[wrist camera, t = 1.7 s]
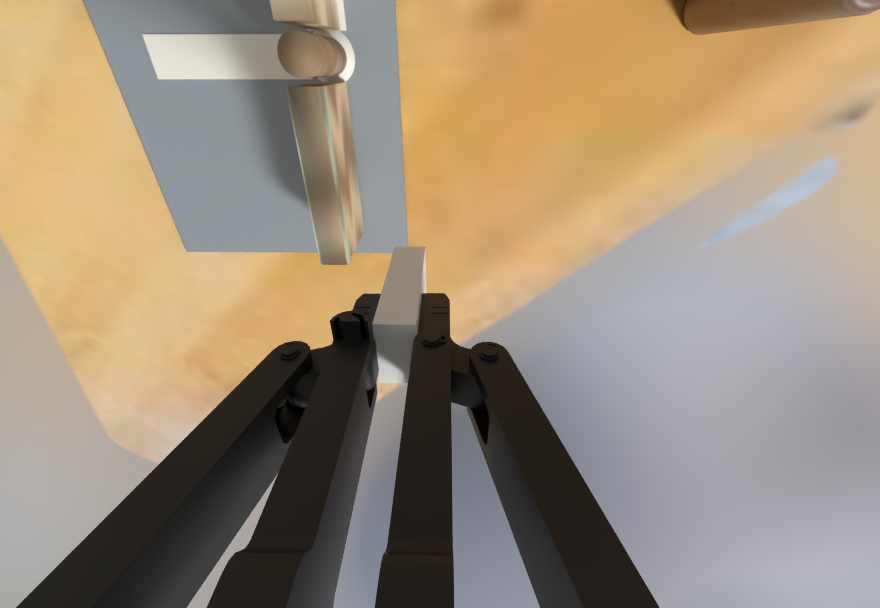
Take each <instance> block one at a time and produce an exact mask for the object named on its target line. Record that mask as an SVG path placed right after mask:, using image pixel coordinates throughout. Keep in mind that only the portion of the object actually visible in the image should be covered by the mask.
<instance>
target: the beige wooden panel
mask: <svg viewBox="0 0 880 608" xmlns="http://www.w3.org/2000/svg"><path fill="white" fill-rule="evenodd" d="M270 4H271V9H272V14H273V19H274V20H275V21H279V22H282V23H286V24H290V25H294V26H298V27H301V28H305V29H309V30H340V25H339V17H338V9H337V0H270ZM277 53H278V58H279V61H280V63H281V65H282V66H283V68H284V69H285V70H286V72H288V73H289V74H290V75H291V76H293V77H295V78H298V79H308V78H319V77H330V76H337V75H339V74H341V73H342V72H343V71H344V69H345V67H346V63H347V57H346V52H345V50H344V48H343V46H342V45H341V44H340V43H339V42H338V41H337V40H335V39H333V38H330V37H326V36H321V35H317V34H313V33H309V32H305V31H301V30H297V29H291V30H288V31H286V32H284V33H283V34H282V35H281V37H280V39H279V41H278V45H277Z"/></svg>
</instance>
